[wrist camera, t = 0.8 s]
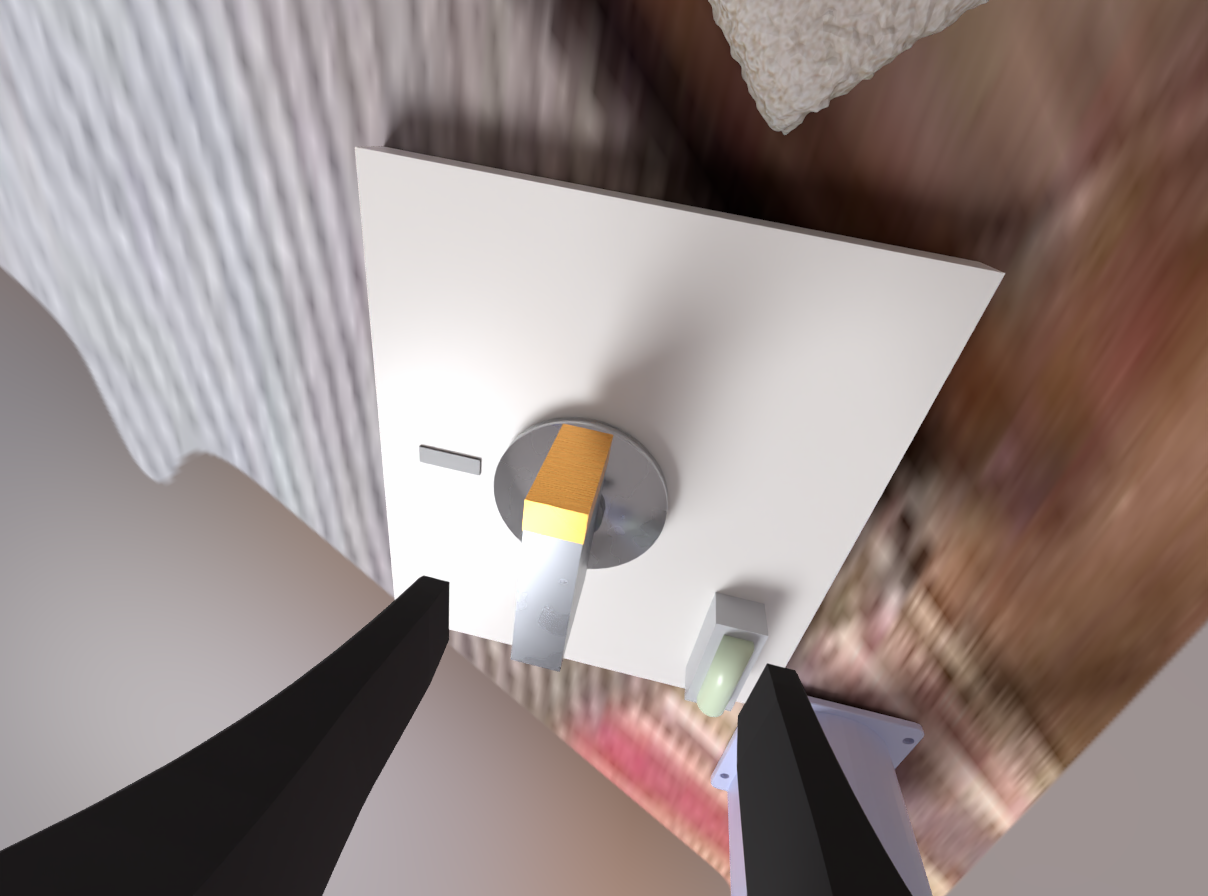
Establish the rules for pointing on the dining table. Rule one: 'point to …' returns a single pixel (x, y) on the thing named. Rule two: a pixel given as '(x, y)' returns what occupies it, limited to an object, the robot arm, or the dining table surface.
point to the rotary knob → (572, 520)
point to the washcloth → (821, 46)
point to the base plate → (647, 397)
